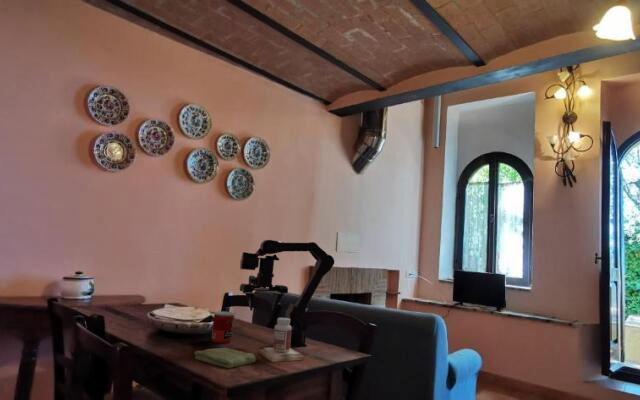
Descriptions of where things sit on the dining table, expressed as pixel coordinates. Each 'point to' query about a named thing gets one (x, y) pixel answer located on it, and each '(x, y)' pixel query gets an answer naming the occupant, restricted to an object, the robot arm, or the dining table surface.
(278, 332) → the pill bottle
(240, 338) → the dining table surface
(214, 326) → the canned food
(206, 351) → the washcloth
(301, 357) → the stand
